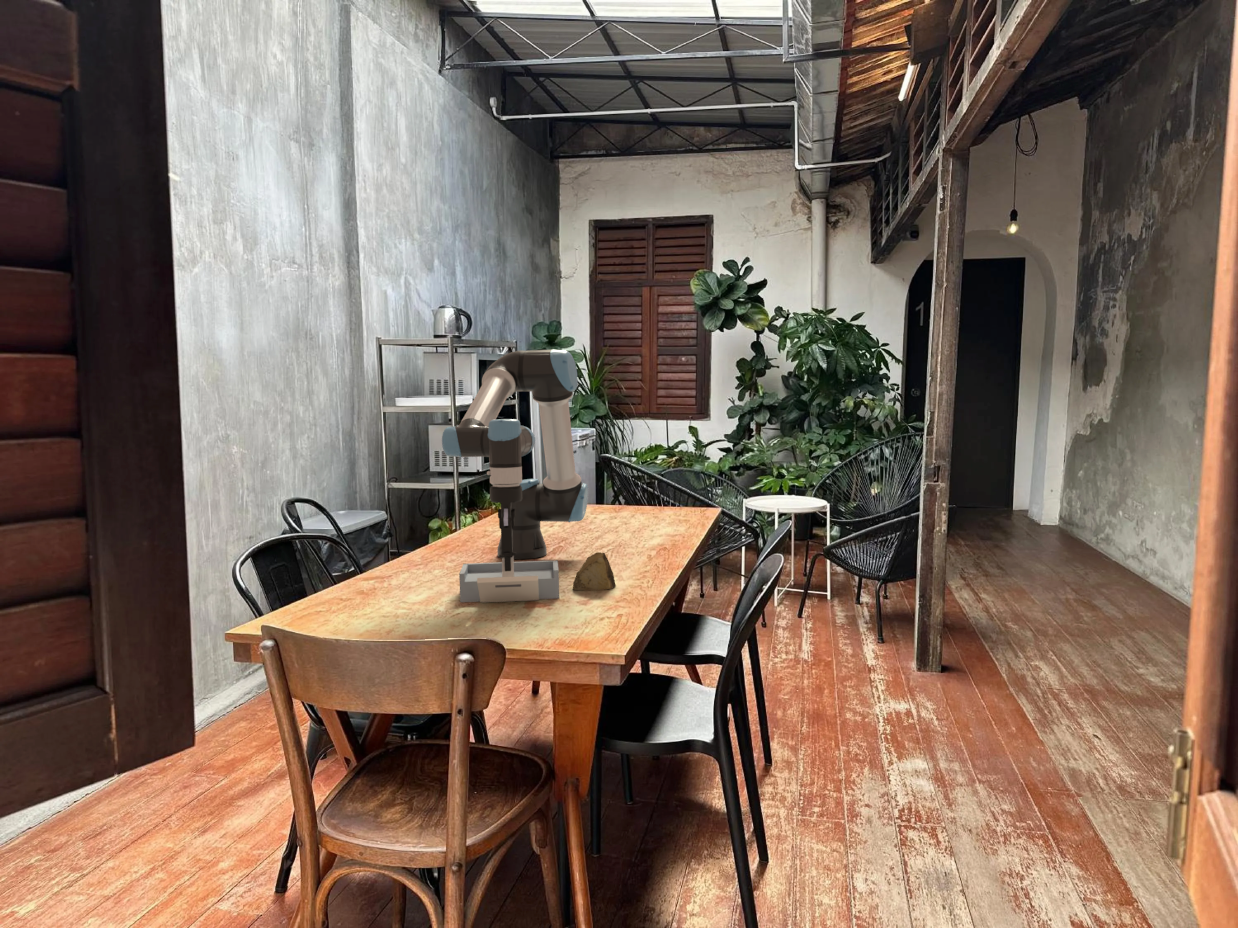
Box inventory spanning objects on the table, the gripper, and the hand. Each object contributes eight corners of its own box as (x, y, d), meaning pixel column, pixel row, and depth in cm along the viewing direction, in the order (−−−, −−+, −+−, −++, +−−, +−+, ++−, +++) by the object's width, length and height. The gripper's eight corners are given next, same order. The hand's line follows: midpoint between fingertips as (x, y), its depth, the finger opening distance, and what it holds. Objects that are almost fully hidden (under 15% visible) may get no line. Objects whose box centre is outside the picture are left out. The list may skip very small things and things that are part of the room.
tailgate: (480, 597, 205) (477, 577, 196) (538, 595, 206) (538, 575, 197) (480, 602, 204) (477, 582, 195) (538, 600, 206) (538, 580, 197)
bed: (464, 590, 218) (463, 563, 217) (558, 586, 220) (557, 560, 219) (460, 602, 206) (459, 573, 205) (559, 598, 208) (558, 570, 207)
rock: (563, 583, 213) (599, 581, 209) (568, 553, 218) (603, 550, 214) (582, 601, 222) (616, 599, 218) (586, 571, 226) (620, 568, 222)
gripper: (491, 482, 205) (493, 578, 207) (488, 488, 192) (490, 590, 194) (522, 481, 206) (524, 577, 208) (521, 487, 193) (523, 589, 195)
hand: (508, 583), depth 201 cm, fingers closed
